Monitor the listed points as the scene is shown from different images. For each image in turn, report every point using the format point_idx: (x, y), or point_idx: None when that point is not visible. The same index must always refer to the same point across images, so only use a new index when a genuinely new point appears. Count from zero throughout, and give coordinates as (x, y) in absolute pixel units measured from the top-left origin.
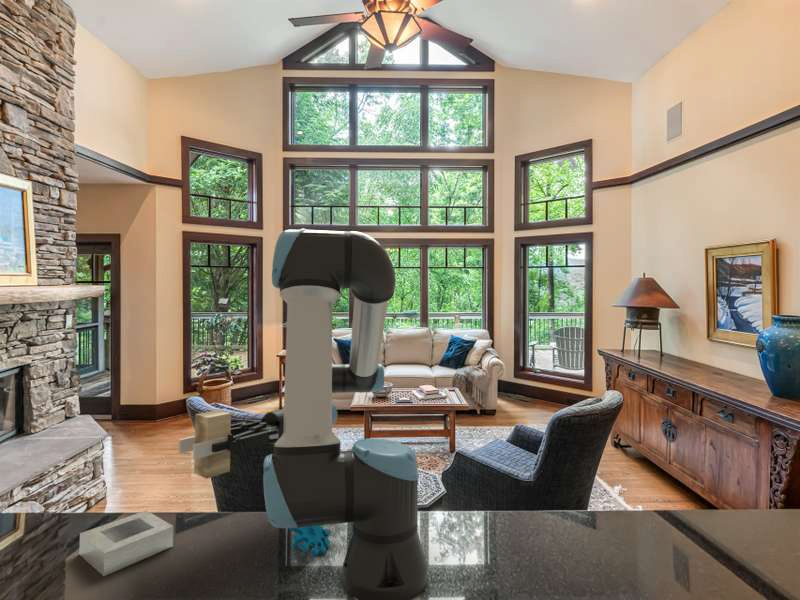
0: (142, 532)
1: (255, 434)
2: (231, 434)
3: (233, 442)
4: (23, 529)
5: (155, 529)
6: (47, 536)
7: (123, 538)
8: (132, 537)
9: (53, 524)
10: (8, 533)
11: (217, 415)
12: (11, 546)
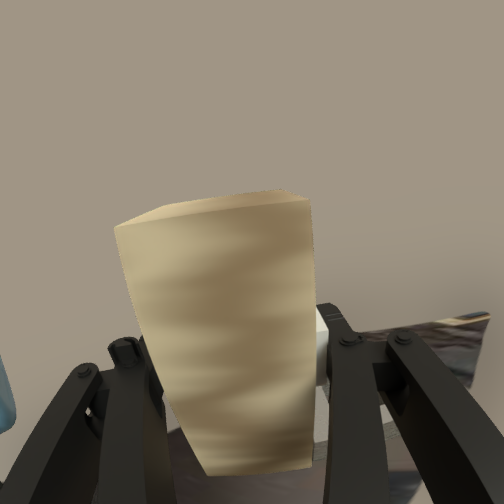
0: (327, 404)
1: (36, 447)
2: (118, 345)
3: (110, 372)
4: (466, 322)
5: (323, 419)
6: (442, 340)
7: (380, 401)
8: (318, 392)
9: (471, 338)
10: (460, 316)
11: (156, 210)
12: (430, 324)
